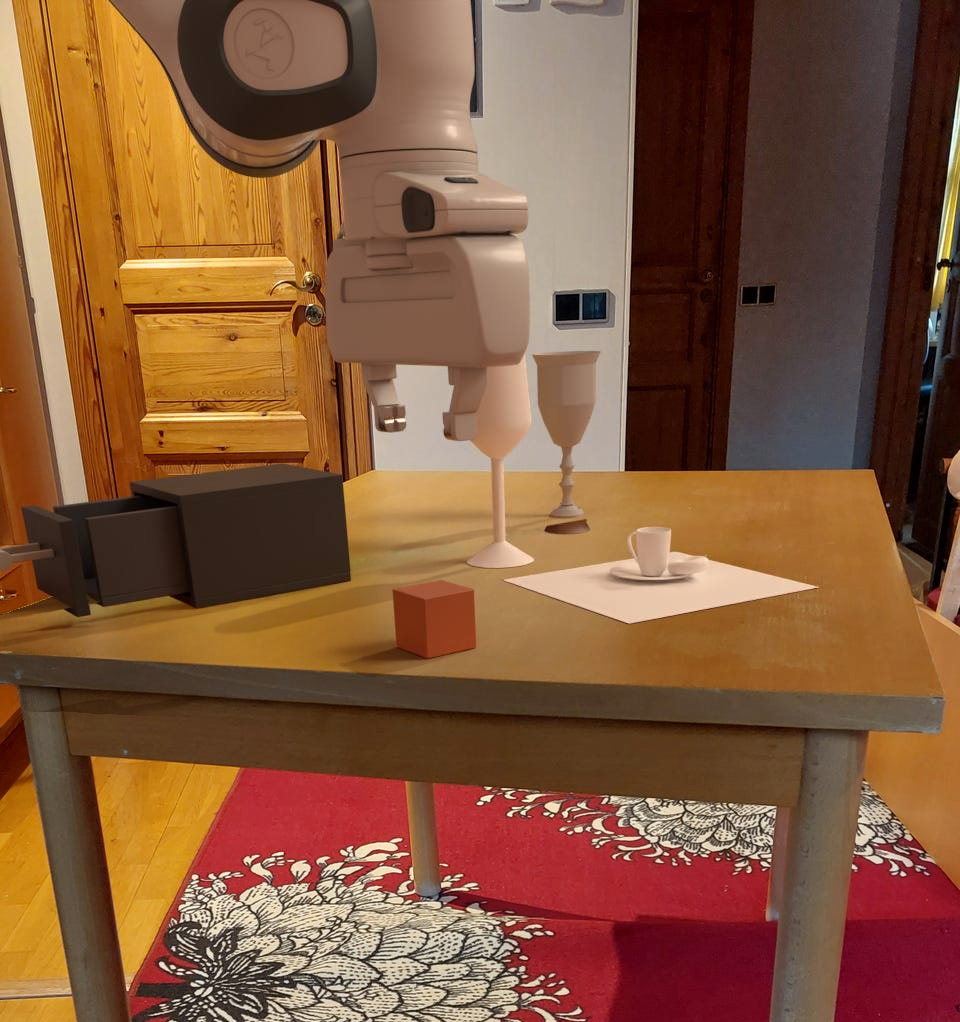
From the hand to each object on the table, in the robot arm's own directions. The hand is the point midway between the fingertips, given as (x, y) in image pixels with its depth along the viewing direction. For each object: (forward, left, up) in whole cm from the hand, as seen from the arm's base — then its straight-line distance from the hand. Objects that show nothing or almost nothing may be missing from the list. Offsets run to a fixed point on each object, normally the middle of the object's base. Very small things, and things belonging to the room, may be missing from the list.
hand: (424, 435), depth 82 cm
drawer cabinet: (-1, +31, -15) cm, 34 cm away
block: (0, 0, -15) cm, 15 cm away
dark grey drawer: (-14, +31, -14) cm, 37 cm away
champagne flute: (+22, +22, -15) cm, 35 cm away
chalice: (+37, +30, -15) cm, 50 cm away
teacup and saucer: (+26, +4, -15) cm, 30 cm away
